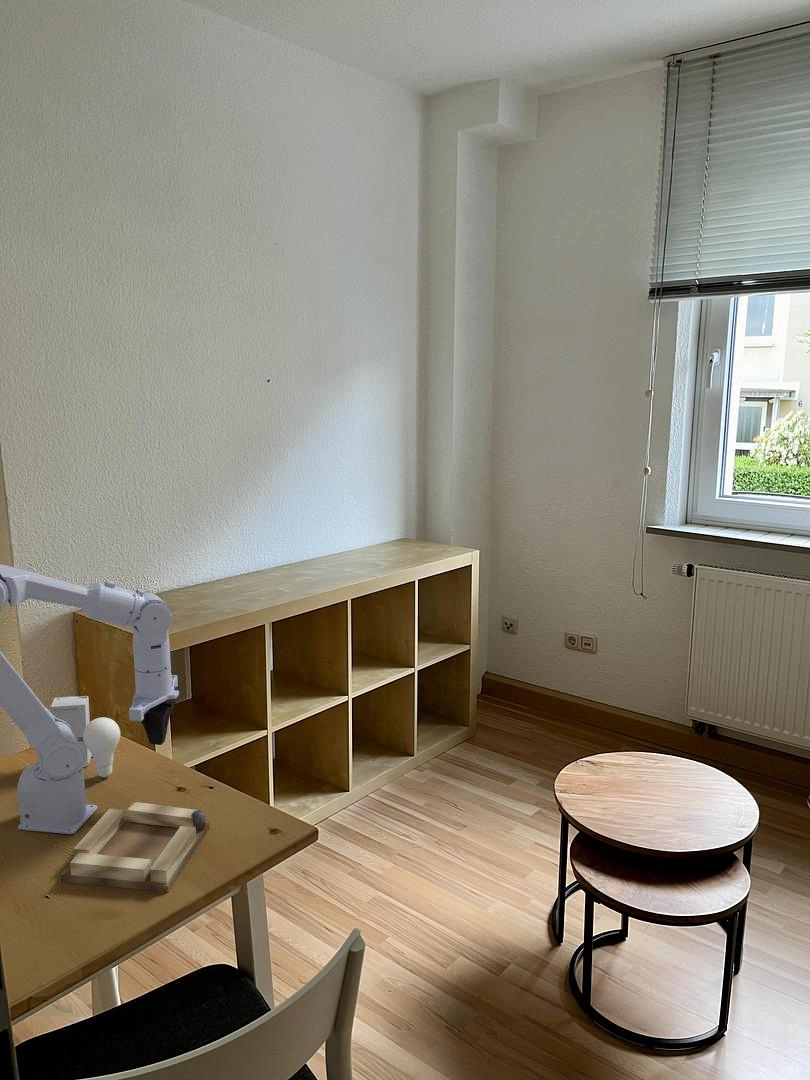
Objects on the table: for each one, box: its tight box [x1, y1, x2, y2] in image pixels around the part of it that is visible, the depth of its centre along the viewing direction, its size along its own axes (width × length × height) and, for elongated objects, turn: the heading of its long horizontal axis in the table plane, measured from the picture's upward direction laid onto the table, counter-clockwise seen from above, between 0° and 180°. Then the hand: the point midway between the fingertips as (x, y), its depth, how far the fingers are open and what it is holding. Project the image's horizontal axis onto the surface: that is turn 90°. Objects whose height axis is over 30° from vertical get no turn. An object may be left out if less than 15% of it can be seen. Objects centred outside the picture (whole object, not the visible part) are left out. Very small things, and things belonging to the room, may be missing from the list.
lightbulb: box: [83, 716, 121, 779], centre depth 148 cm, size 6×6×11 cm
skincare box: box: [49, 695, 93, 768], centre depth 153 cm, size 6×4×12 cm
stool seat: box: [59, 808, 210, 893], centre depth 127 cm, size 16×16×3 cm
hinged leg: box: [126, 801, 207, 830], centre depth 133 cm, size 12×2×2 cm, turn 78°
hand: (157, 742), depth 142 cm, fingers closed
